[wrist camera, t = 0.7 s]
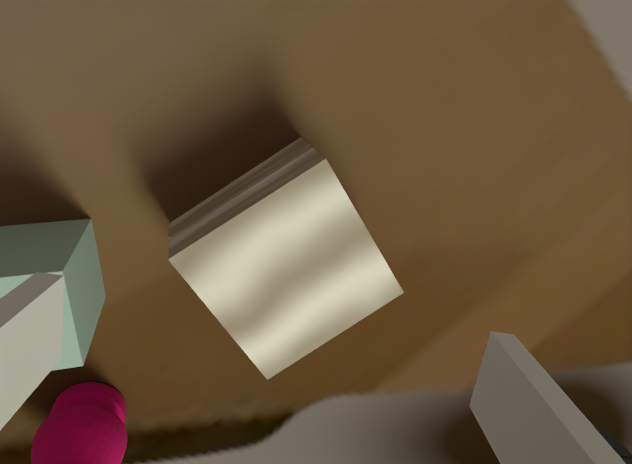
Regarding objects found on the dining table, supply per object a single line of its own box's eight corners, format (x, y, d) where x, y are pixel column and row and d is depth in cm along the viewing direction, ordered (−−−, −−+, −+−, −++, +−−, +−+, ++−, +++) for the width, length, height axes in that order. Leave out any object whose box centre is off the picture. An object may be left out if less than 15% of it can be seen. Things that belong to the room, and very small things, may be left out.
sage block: (15, 306, 41) (-35, 382, 32) (-6, 226, 38) (-67, 284, 29) (105, 296, 42) (83, 366, 33) (91, 218, 40) (62, 271, 31)
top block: (170, 238, 38) (168, 259, 35) (313, 147, 38) (325, 158, 35) (261, 351, 44) (267, 379, 40) (386, 271, 44) (403, 292, 40)
